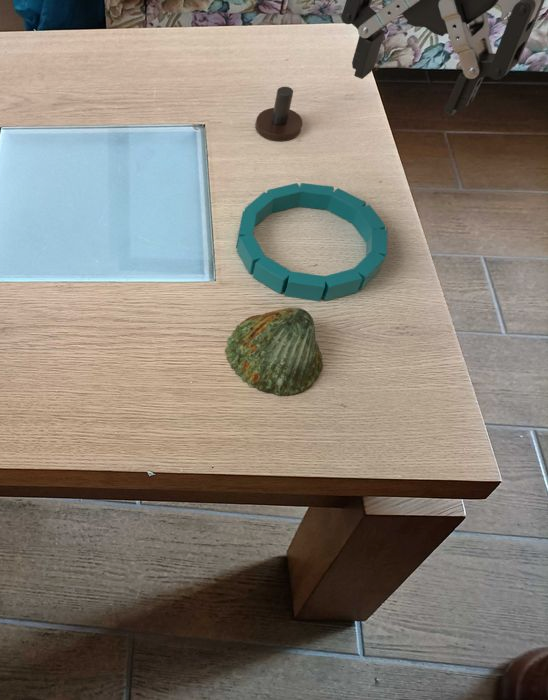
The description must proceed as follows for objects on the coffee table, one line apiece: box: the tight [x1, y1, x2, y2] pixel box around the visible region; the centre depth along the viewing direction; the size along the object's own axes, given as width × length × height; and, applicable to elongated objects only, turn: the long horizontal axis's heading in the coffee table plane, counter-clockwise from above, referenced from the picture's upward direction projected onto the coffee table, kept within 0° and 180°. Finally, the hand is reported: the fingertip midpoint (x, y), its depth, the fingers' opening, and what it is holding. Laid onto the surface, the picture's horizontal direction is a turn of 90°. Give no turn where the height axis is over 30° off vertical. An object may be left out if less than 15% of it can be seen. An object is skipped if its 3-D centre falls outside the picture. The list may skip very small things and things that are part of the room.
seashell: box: [224, 307, 324, 397], centre depth 68 cm, size 10×4×10 cm
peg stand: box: [255, 86, 303, 142], centre depth 88 cm, size 6×6×6 cm
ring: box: [235, 182, 388, 302], centre depth 77 cm, size 16×16×2 cm
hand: (406, 91), depth 59 cm, fingers open, 8 cm apart
